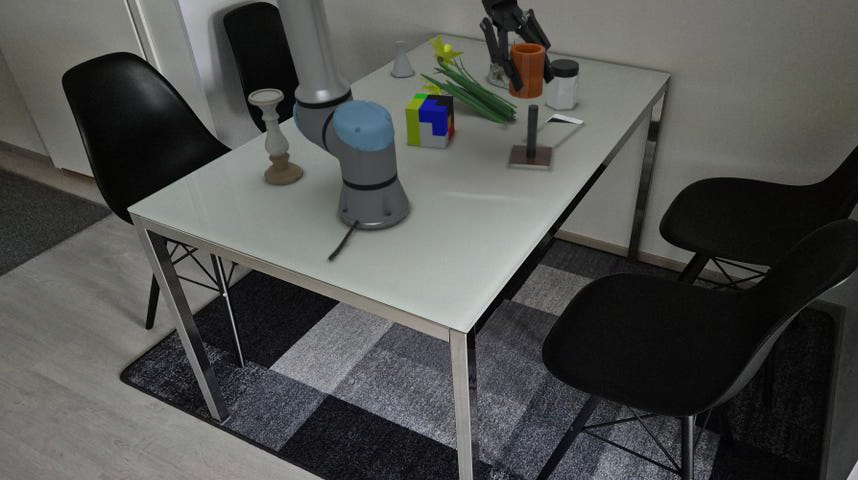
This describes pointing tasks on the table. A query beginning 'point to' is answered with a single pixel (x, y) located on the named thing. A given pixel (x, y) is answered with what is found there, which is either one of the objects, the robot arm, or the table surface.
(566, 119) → the cell phone
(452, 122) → the puzzle toy
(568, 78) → the jar
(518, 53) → the orange hollow cylinder
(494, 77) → the ceramic cottage
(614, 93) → the table surface
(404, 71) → the flask
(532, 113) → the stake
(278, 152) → the candle holder
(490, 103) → the daffodil flowers
